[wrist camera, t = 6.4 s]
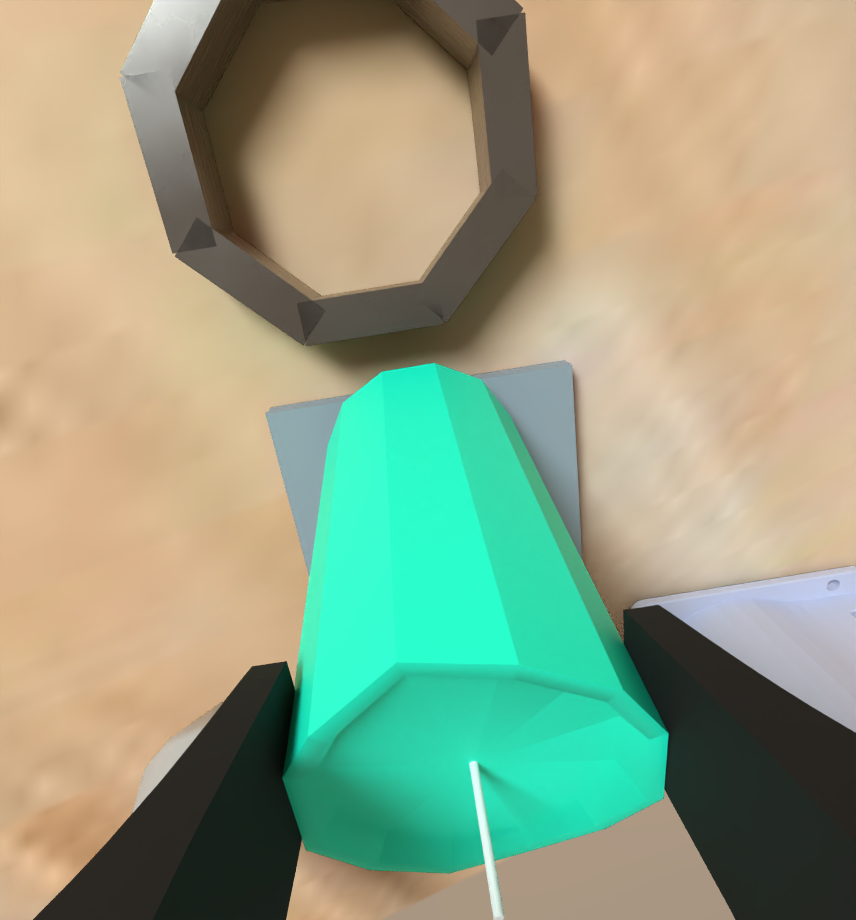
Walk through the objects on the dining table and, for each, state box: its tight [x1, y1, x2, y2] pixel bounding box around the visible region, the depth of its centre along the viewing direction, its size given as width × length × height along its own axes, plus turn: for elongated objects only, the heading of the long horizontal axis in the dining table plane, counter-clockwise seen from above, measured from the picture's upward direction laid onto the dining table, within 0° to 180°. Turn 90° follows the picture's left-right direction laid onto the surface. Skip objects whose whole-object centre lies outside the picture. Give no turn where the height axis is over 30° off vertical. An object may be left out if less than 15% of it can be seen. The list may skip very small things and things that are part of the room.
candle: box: [282, 363, 669, 920], centre depth 12 cm, size 6×6×12 cm
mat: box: [266, 360, 582, 577], centre depth 19 cm, size 10×10×1 cm
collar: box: [120, 0, 537, 346], centre depth 14 cm, size 10×10×2 cm
